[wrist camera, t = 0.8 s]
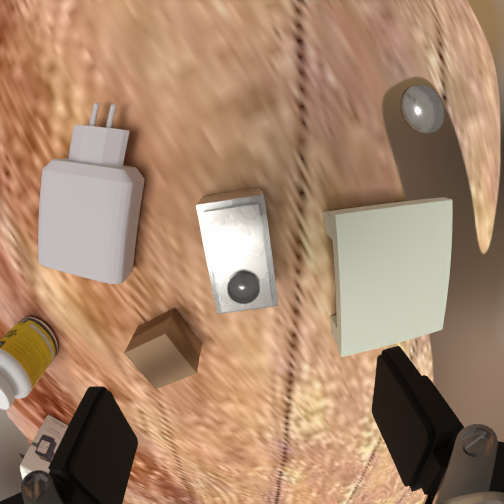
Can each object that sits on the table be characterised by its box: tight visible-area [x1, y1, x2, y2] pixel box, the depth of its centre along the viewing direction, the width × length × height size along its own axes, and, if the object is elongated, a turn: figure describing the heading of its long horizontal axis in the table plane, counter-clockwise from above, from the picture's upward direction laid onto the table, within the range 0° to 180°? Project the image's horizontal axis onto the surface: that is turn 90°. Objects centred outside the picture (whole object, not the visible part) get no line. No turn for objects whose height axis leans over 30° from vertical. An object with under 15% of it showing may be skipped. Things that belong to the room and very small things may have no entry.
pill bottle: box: [0, 317, 58, 410], centre depth 26 cm, size 6×6×12 cm
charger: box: [38, 103, 145, 284], centre depth 24 cm, size 5×9×15 cm
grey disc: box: [400, 85, 444, 133], centre depth 25 cm, size 5×5×1 cm
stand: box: [323, 197, 452, 357], centre depth 28 cm, size 14×12×4 cm
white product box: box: [20, 415, 68, 479], centre depth 32 cm, size 8×5×12 cm, turn 153°
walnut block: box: [125, 308, 202, 389], centre depth 29 cm, size 5×5×5 cm
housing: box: [196, 188, 278, 314], centre depth 26 cm, size 9×5×7 cm, turn 8°
